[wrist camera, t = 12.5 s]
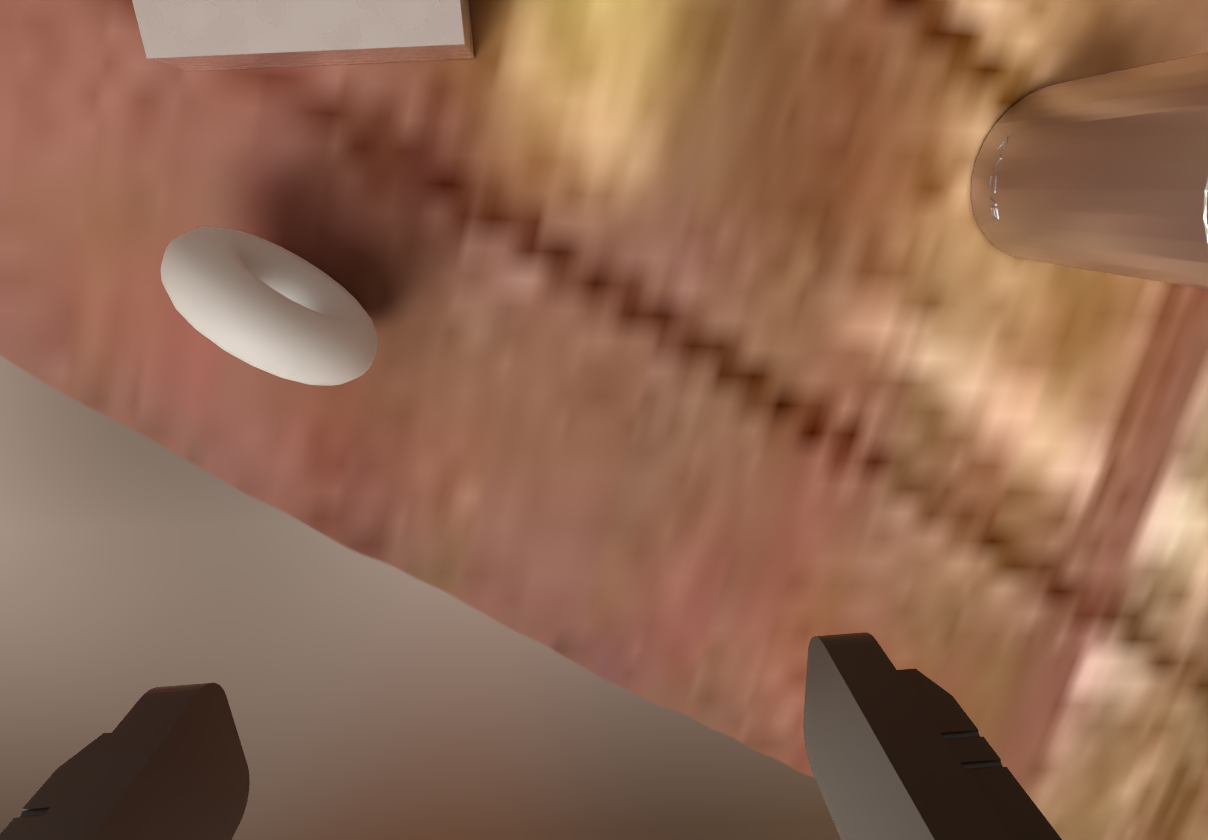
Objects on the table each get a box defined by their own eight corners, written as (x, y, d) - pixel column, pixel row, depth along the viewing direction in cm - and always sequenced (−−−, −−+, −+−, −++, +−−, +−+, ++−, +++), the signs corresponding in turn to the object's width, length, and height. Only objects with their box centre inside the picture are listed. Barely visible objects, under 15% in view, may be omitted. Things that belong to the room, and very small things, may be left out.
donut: (410, 321, 37) (359, 367, 28) (378, 368, 38) (316, 428, 28) (248, 206, 35) (130, 214, 25) (216, 259, 35) (90, 286, 26)
